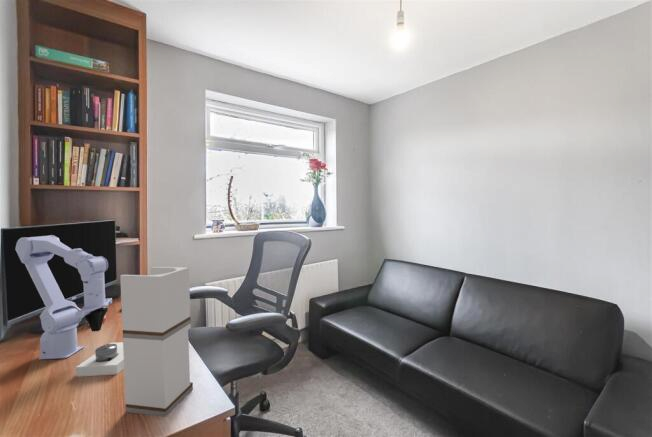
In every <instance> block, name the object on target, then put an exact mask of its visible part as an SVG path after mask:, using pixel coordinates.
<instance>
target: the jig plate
mask: <svg viewBox="0 0 652 437" xmlns="http://www.w3.org/2000/svg"><path fill="white" fill-rule="evenodd" d="M109 344H116V345H117V357H115V358H114V359H112V360H111V361H106V362H96V354H95V353H94V354H92V355H91V356H90V357H88V358H86V360H84V361H83V362H81V363H80V364H78V365H77V366H76V367H75V377H76V378H79V377H80V378H81V377H94V376H95V377H96V376H110V375H111V376H113V375H118V374H120V372H122V371H124V354H123V341H121V342H120V341H119V342H110V343H109Z"/></svg>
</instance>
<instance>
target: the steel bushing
mask: <svg viewBox="0 0 652 437" xmlns="http://www.w3.org/2000/svg"><path fill="white" fill-rule="evenodd" d="M94 352H95V353H94V354H96V362H106V361H111V360H112V359H114V358H115V357H117V345H116V344H110V343H107V344H104V345H101V346H99V347H97V348H96V349H95V350H94Z"/></svg>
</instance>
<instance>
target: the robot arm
mask: <svg viewBox="0 0 652 437" xmlns="http://www.w3.org/2000/svg"><path fill="white" fill-rule="evenodd" d="M14 250H15V251H16V253H17V256H18V259H19V260H20V262H21V264H24V265H25V267H26V270H27V271H28V274H29V276H30V278H31V280H32V282H33V285H35V288H36V290H37V292H38V294H39V296H40V298H41V300H42V301H43V304H44V306H45V308H44V310H42V312H41V313H40V315H39V318H40V323H41V328H42V330H43V331H44V332H43V333H42V334H41V336H40V340H39V348H40V350H39V352H40V357H38V360H52V359H67V358H69V357H71V356H73V355H75V353H77V352H79V351H80V350H82V349H83V348H84V347H85V345H79V346H78V330H77V329H78V328H77V327H78V326H79V325H80V324H79V323H80V322H81V321H82V319H83V318H84V319H85V320H86V321H87V322H88V323H89V324H88V323H87V324H88V325H89V328H90V330H91V332H99V331H101V329H102V326H103V323H102V322H103V319H104V316H105V314H106V315H107V312H108V306H109V305H111V304H113V298H112V297H109V298H108V297H107V298H106V289H105V288H106V287H105V286H106V285H105V282H106V281H105V272H106V271H107V270H108V268H109V261H108V259H107V258H106V257H104V256H102V255H100V256H94V255H93V254H92V253H88V252H86V251H84V250H83V249H82V248H80V247H79V248H73V249H72V248H71V247H69V246H68V245H66V244H64V243H63V242H61V241H60V238H59V237H57V236H56V235H53V234H50V235H41V236H40V235H39V236H30V237H26V236H25V237H20V238H19V239H18V240H17V241H16V244H15V249H14ZM54 255H57V256H59V257H61V258H63V260H64V262H65V263H66V264H67V265H69V266H72V267H73V268H75V269H77V271H78V273H79V275H80V280H81V281H82V284H83V303H84V304H83V305H84V306H83V307H82V308H80V307H78V305H77V304H76V302H74V301H71V300H67V299H65V297H64V295H63V293H62V290H61V289H60V286H59V284H58V282H57V281H56V279H55V277H54V275H53V273H52V271H51V269H50V267H49V264H48V261H50V260H52V258H53V257H54ZM103 307H105V308H103Z"/></svg>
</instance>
